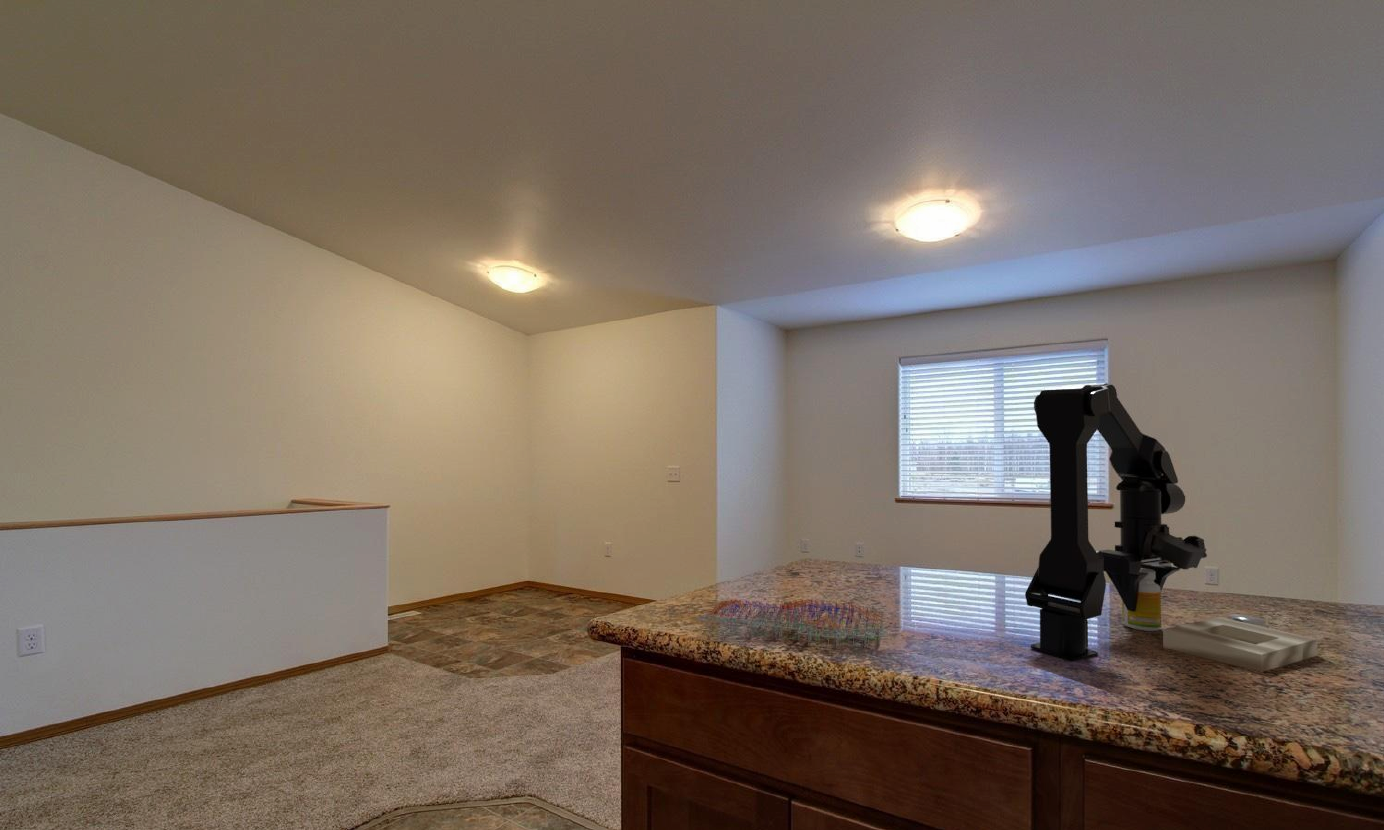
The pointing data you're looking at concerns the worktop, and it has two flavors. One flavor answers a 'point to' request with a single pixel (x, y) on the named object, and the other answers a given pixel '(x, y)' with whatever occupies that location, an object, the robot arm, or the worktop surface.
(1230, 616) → the short steel stub
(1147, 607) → the supplement bottle
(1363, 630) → the worktop surface
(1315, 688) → the worktop surface
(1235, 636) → the bored board
